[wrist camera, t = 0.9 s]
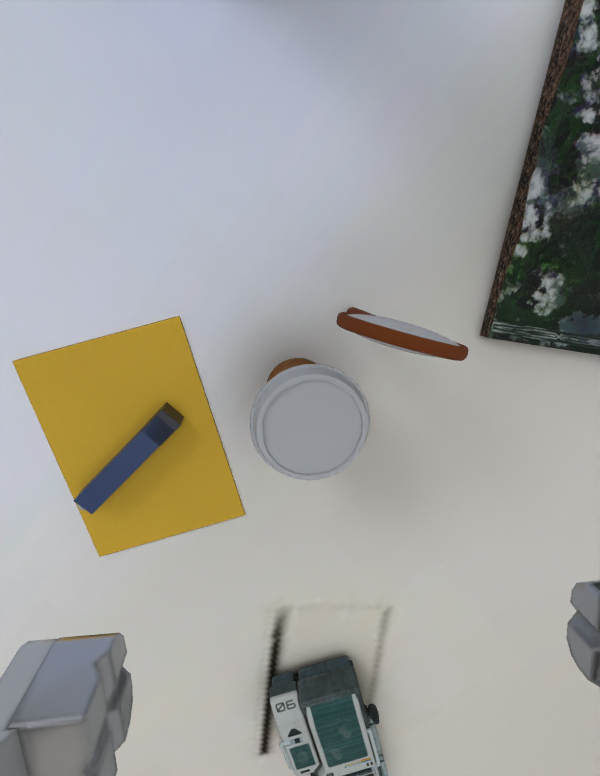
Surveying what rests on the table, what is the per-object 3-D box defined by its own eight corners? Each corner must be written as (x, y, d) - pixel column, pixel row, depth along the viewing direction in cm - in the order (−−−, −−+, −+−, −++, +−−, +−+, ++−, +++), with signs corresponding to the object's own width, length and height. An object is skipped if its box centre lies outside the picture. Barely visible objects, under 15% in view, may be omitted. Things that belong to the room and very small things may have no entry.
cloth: (13, 361, 43) (12, 361, 43) (179, 315, 43) (179, 316, 43) (100, 555, 49) (99, 556, 49) (245, 513, 49) (244, 514, 49)
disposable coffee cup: (358, 406, 47) (393, 451, 36) (277, 447, 48) (285, 505, 36) (318, 325, 45) (342, 345, 33) (232, 369, 45) (226, 404, 34)
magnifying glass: (306, 309, 44) (348, 342, 25) (310, 292, 44) (357, 311, 25) (388, 332, 46) (488, 378, 27) (393, 315, 45) (498, 350, 26)
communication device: (309, 804, 62) (318, 891, 53) (263, 671, 55) (265, 746, 46) (394, 779, 62) (417, 861, 54) (359, 644, 55) (379, 714, 47)
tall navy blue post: (95, 507, 47) (86, 520, 45) (77, 493, 46) (67, 506, 44) (184, 416, 46) (180, 425, 43) (166, 401, 45) (162, 409, 43)
